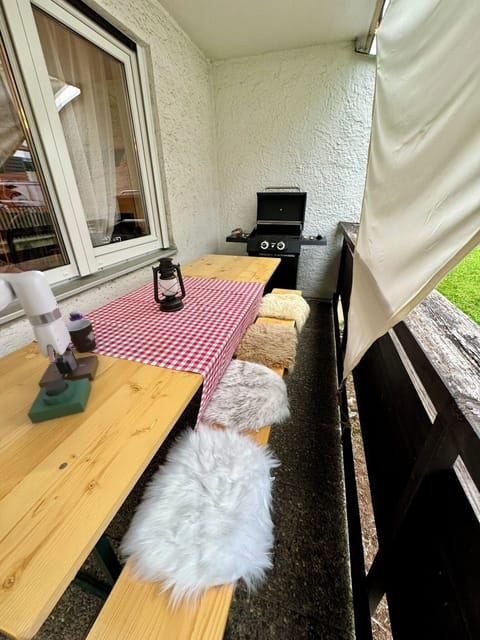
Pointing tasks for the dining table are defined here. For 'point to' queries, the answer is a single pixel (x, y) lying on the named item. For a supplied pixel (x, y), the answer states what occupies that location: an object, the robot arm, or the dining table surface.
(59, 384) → the dark grey short cylinder
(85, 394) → the green flat block
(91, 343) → the coffee mug
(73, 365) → the dial
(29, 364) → the dining table surface
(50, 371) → the dial panel
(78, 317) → the potion bottle
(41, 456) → the dining table surface
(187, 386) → the dining table surface
